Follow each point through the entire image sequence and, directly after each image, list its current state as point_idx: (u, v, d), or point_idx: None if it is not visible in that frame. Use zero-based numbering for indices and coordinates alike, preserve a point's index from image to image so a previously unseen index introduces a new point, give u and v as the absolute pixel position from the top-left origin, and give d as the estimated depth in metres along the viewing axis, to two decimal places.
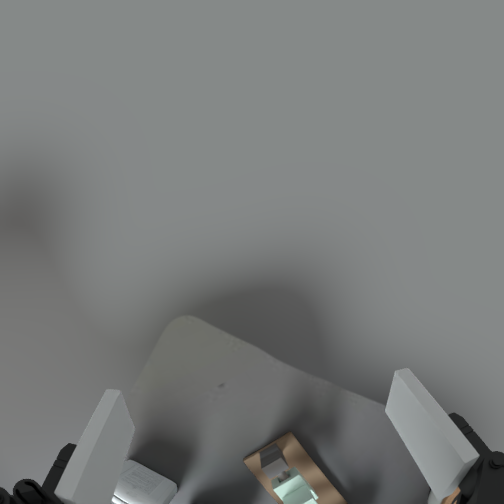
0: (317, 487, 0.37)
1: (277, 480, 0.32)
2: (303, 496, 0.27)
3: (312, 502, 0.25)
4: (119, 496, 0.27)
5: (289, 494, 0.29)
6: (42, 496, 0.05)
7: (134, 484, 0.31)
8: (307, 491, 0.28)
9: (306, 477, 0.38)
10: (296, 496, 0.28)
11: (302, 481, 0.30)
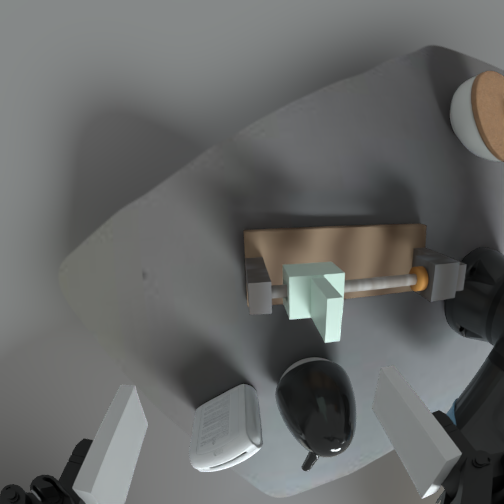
0: (341, 245, 0.35)
1: (285, 299, 0.29)
2: (320, 300, 0.23)
3: (334, 302, 0.21)
4: (215, 464, 0.29)
5: (311, 304, 0.26)
6: (60, 492, 0.06)
7: (212, 437, 0.32)
8: (318, 288, 0.23)
9: (318, 250, 0.35)
10: (316, 304, 0.24)
11: (303, 278, 0.26)
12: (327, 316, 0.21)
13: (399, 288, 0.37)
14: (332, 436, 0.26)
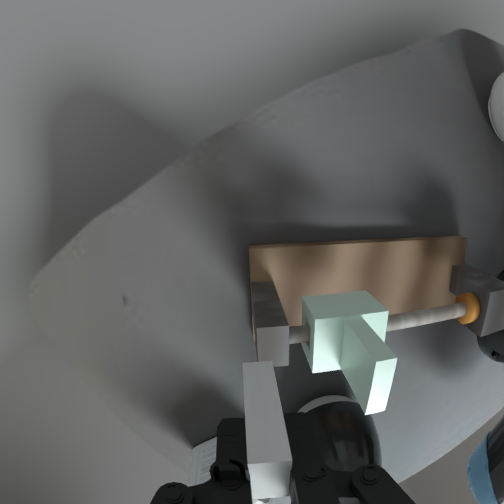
0: (371, 265, 0.27)
1: (305, 343, 0.21)
2: (360, 357, 0.15)
3: (385, 365, 0.13)
4: None
5: (342, 353, 0.18)
6: (240, 476, 0.08)
7: None
8: (357, 340, 0.15)
9: (343, 270, 0.27)
10: (352, 359, 0.16)
11: (333, 321, 0.18)
12: (373, 384, 0.13)
13: None
14: None
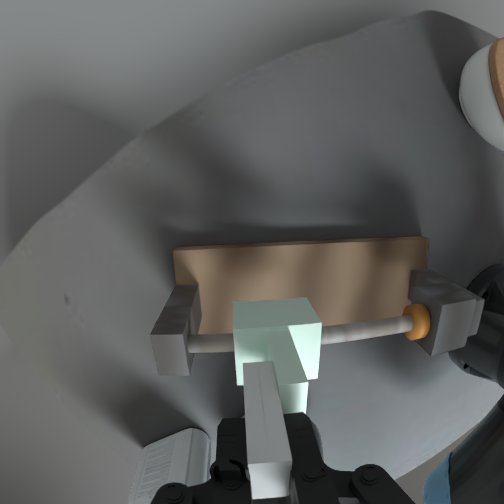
0: (309, 269, 0.26)
1: None
2: None
3: (293, 389, 0.12)
4: None
5: None
6: (240, 476, 0.08)
7: (150, 490, 0.23)
8: (272, 355, 0.14)
9: (275, 274, 0.26)
10: None
11: (254, 331, 0.16)
12: None
13: None
14: None
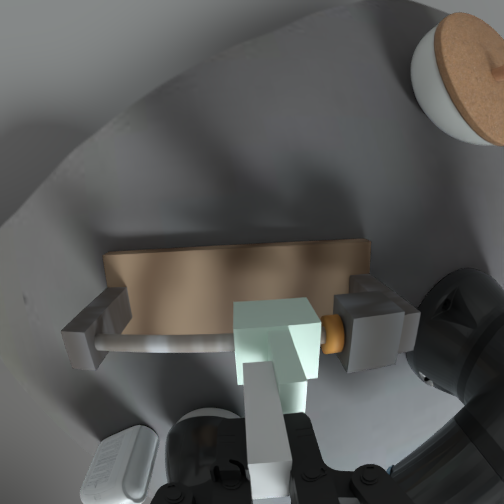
0: (231, 273, 0.26)
1: None
2: None
3: (292, 388, 0.12)
4: None
5: None
6: (240, 476, 0.08)
7: (96, 479, 0.23)
8: (272, 355, 0.14)
9: (197, 279, 0.26)
10: None
11: (255, 331, 0.17)
12: None
13: None
14: None
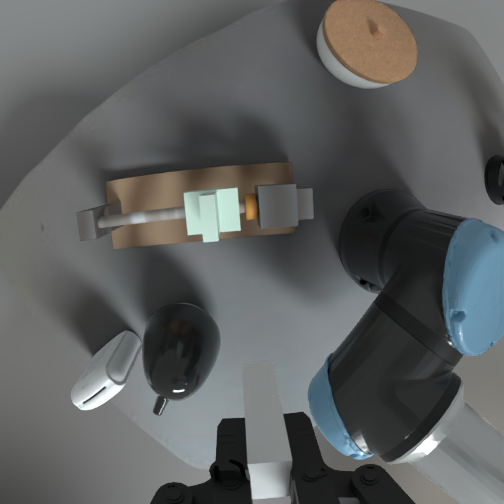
0: (191, 187, 0.36)
1: None
2: None
3: (206, 199, 0.23)
4: (84, 398, 0.31)
5: None
6: (240, 476, 0.08)
7: (86, 374, 0.33)
8: None
9: (169, 192, 0.36)
10: None
11: (196, 194, 0.27)
12: (201, 213, 0.23)
13: (266, 230, 0.38)
14: (163, 372, 0.28)
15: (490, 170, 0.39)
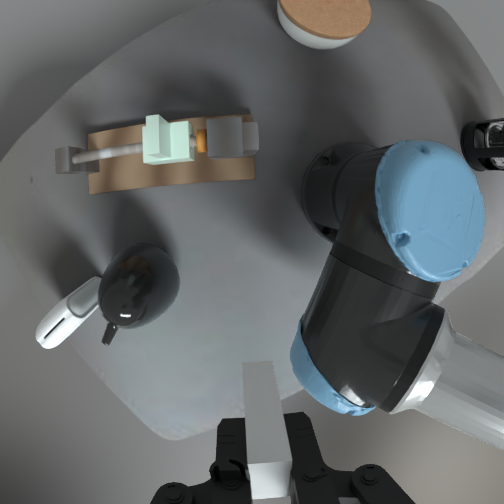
0: None
1: None
2: None
3: (152, 119, 0.24)
4: (44, 331, 0.32)
5: None
6: (240, 476, 0.08)
7: None
8: None
9: (140, 141, 0.38)
10: None
11: None
12: (146, 130, 0.24)
13: (226, 176, 0.39)
14: (110, 292, 0.29)
15: (466, 134, 0.39)
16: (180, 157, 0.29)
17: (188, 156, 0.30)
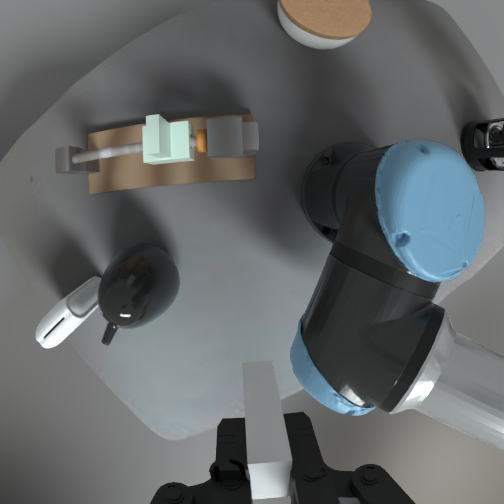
0: None
1: None
2: None
3: (152, 118, 0.24)
4: (44, 330, 0.32)
5: None
6: (240, 476, 0.08)
7: None
8: None
9: (140, 141, 0.38)
10: None
11: None
12: (146, 130, 0.24)
13: (226, 176, 0.39)
14: (110, 292, 0.29)
15: (466, 134, 0.39)
16: (180, 157, 0.29)
17: (188, 156, 0.30)
